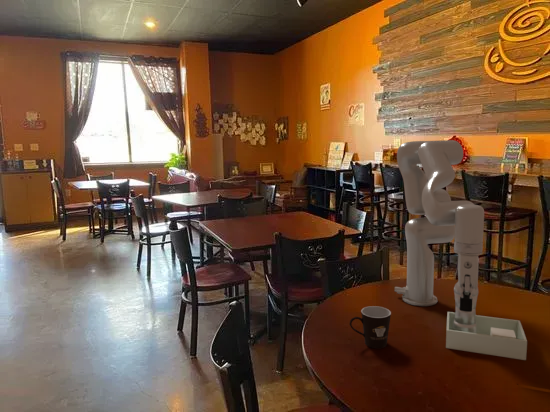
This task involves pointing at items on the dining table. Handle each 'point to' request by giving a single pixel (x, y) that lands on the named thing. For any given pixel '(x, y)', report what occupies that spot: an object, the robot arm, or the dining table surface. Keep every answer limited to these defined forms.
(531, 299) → the dining table surface
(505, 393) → the dining table surface
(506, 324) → the crate
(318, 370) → the dining table surface
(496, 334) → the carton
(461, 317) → the plastic bottle
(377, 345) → the coffee mug
